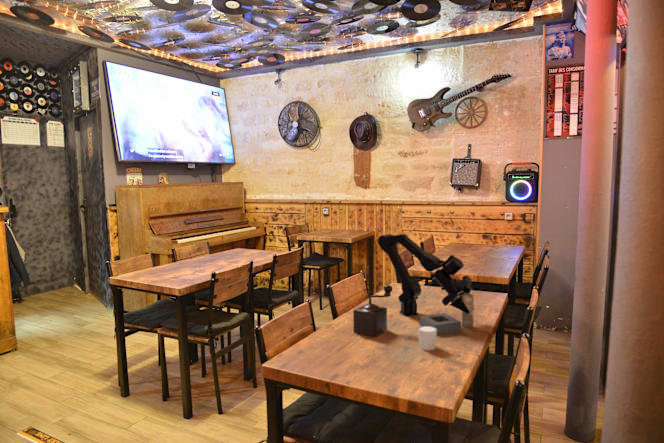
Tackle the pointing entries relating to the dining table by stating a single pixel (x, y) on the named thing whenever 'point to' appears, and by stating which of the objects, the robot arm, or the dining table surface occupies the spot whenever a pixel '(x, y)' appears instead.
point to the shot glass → (427, 337)
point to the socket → (441, 323)
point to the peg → (469, 302)
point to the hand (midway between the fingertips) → (471, 311)
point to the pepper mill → (371, 316)
